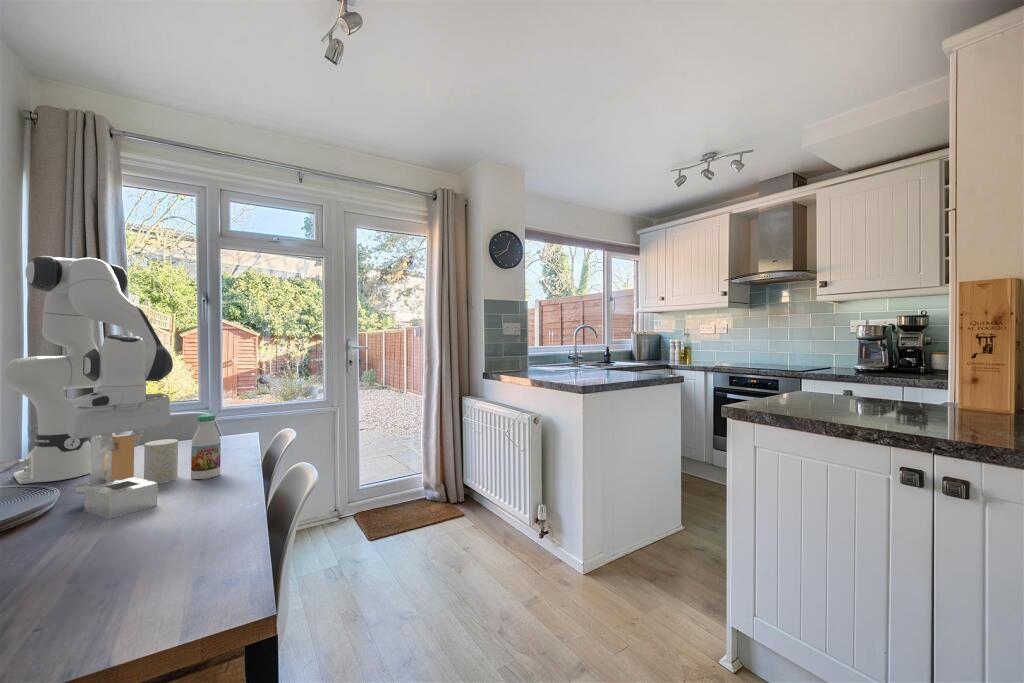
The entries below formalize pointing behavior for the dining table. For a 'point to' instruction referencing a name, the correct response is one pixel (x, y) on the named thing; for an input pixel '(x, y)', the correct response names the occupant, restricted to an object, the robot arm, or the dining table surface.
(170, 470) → the cup
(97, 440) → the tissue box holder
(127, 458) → the tan wooden block
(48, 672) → the dining table surface
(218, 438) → the milk bottle
